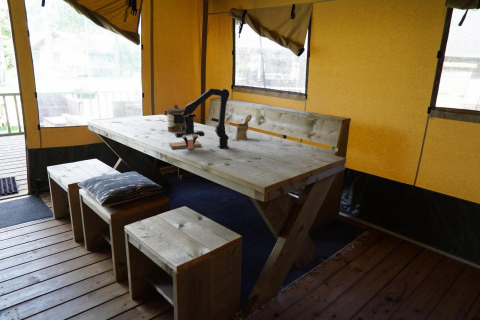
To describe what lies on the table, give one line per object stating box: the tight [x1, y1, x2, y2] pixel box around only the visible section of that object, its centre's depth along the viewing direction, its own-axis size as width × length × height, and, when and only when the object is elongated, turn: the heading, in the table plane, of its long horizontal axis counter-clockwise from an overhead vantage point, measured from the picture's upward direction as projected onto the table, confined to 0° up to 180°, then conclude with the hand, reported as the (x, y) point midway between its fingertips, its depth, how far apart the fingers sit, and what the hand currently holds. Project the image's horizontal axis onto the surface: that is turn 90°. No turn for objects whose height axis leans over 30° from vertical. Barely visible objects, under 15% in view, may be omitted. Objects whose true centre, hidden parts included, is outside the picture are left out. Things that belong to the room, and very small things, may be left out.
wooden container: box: [166, 104, 185, 133], centre depth 278 cm, size 15×15×22 cm
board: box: [169, 140, 202, 150], centre depth 231 cm, size 10×20×2 cm, turn 112°
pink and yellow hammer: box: [186, 138, 194, 150], centre depth 228 cm, size 13×4×6 cm, turn 22°
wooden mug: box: [235, 114, 253, 141], centre depth 255 cm, size 9×14×18 cm, turn 127°
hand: (190, 146), depth 224 cm, fingers closed on pink and yellow hammer, 3 cm apart
